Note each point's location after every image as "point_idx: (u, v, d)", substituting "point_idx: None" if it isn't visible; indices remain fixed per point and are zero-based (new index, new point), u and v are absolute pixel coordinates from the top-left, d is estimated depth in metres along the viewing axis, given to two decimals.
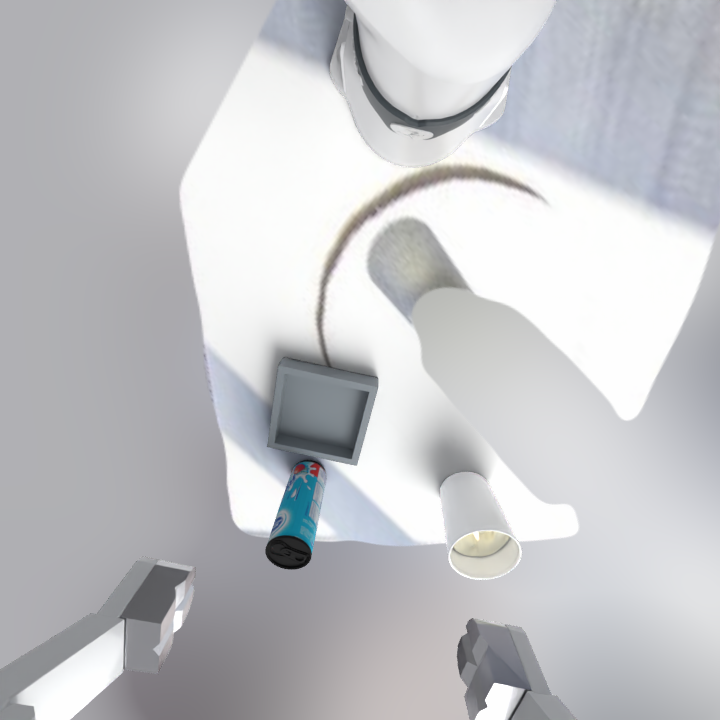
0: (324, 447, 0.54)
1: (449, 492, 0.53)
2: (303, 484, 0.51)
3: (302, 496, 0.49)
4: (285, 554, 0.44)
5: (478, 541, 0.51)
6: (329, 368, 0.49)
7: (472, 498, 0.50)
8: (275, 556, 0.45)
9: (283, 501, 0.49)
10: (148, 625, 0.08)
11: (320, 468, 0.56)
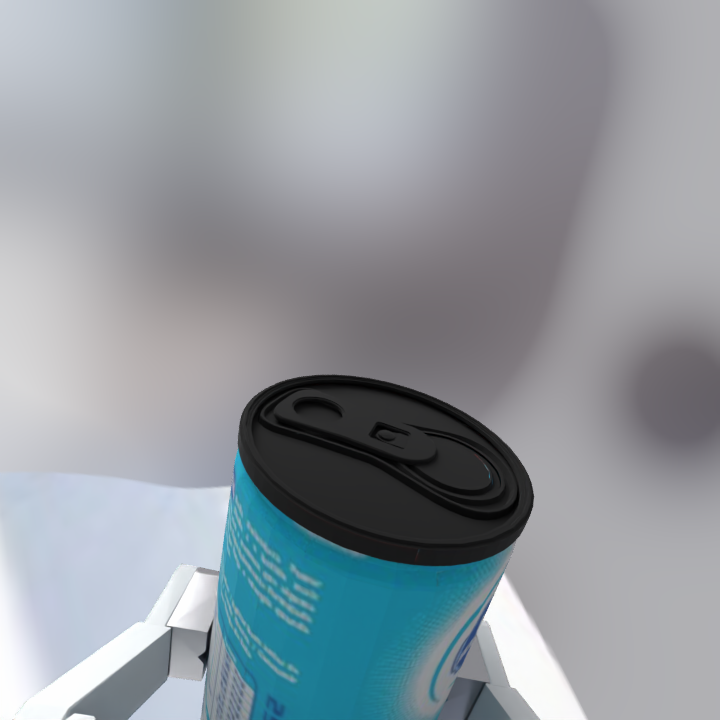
0: None
1: None
2: None
3: None
4: (400, 429, 0.08)
5: None
6: None
7: None
8: (442, 426, 0.09)
9: None
10: (194, 633, 0.08)
11: None
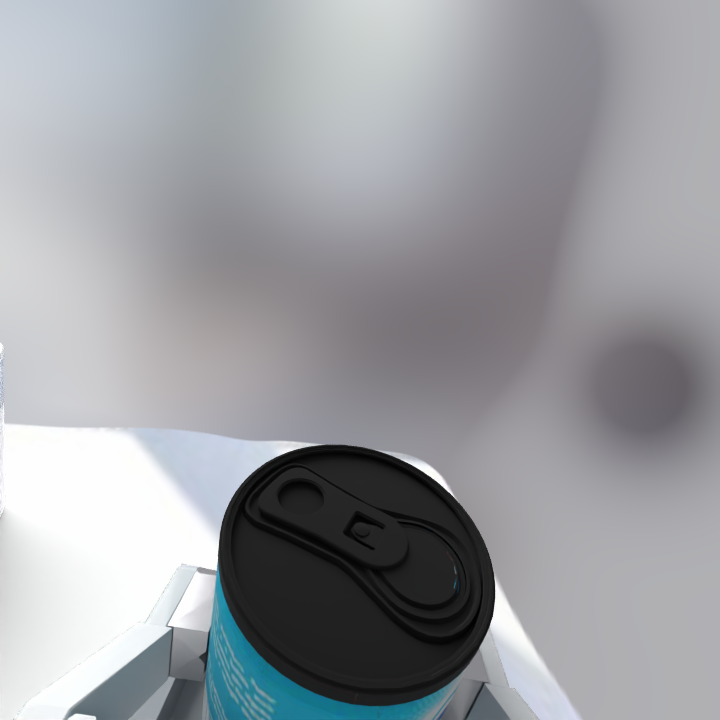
0: None
1: None
2: None
3: None
4: (376, 521, 0.08)
5: None
6: None
7: None
8: (424, 509, 0.09)
9: None
10: (195, 634, 0.08)
11: None
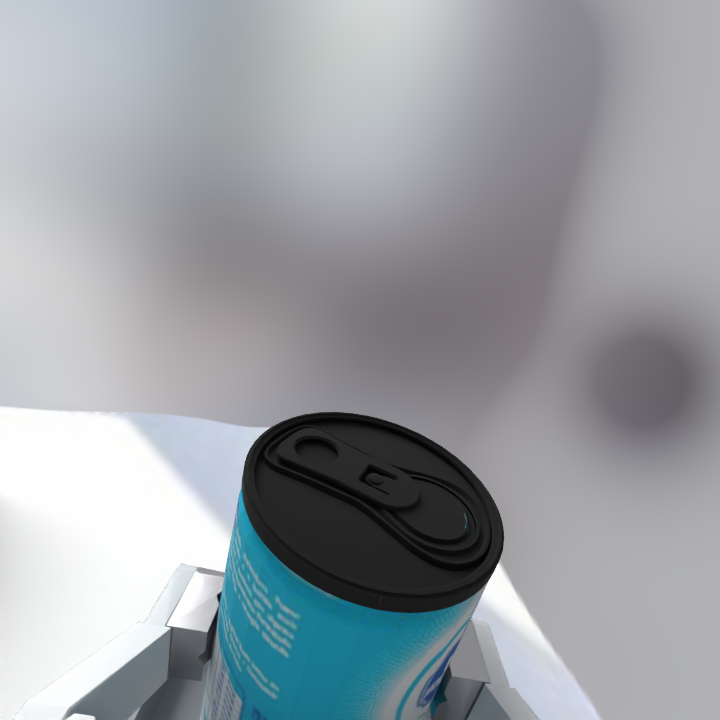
0: None
1: None
2: None
3: None
4: (389, 473, 0.08)
5: None
6: None
7: None
8: (432, 469, 0.09)
9: None
10: (194, 633, 0.08)
11: None
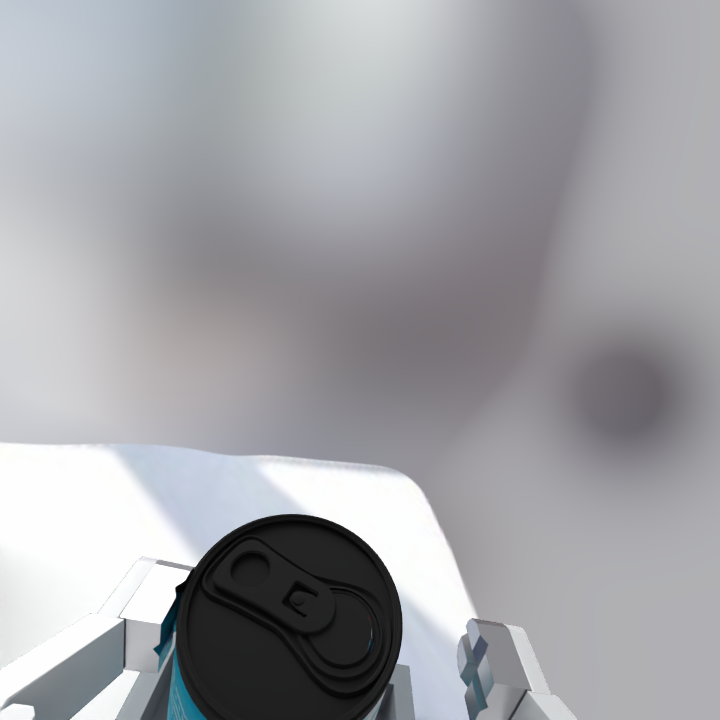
0: None
1: None
2: None
3: None
4: (312, 589, 0.10)
5: None
6: None
7: None
8: (356, 574, 0.11)
9: None
10: (148, 625, 0.08)
11: None
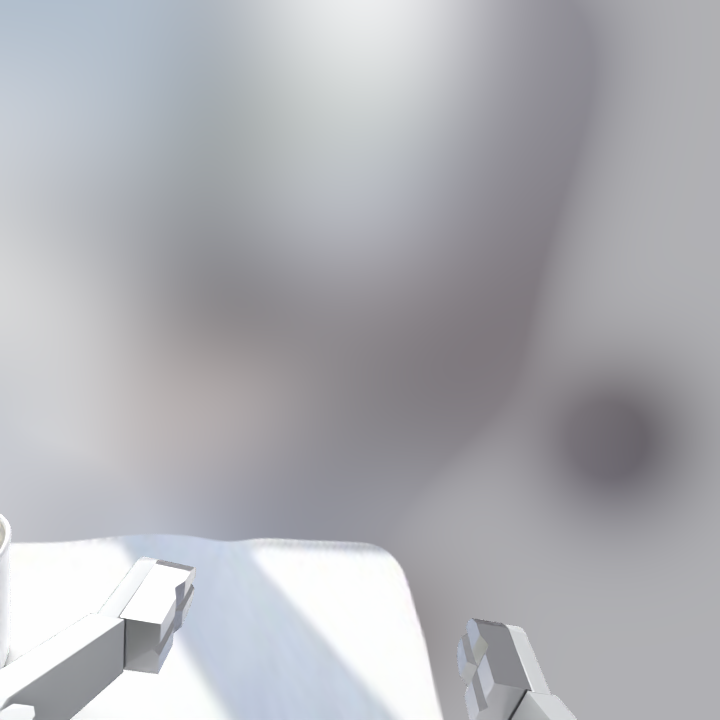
0: None
1: None
2: None
3: None
4: None
5: None
6: None
7: None
8: None
9: None
10: (148, 625, 0.08)
11: None
